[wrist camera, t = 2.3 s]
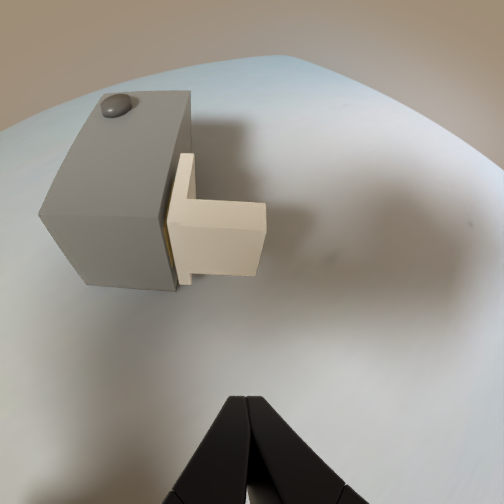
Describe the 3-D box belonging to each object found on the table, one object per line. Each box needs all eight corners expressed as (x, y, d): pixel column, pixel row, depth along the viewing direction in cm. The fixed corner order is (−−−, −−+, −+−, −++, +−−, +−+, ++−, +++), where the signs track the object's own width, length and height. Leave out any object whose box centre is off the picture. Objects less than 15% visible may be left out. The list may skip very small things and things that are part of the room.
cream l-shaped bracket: (249, 298, 21) (266, 230, 14) (178, 295, 20) (162, 225, 14) (249, 227, 24) (263, 147, 17) (187, 223, 23) (180, 142, 17)
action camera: (176, 291, 22) (156, 208, 14) (86, 284, 21) (33, 206, 13) (195, 157, 29) (194, 72, 21) (125, 156, 28) (109, 76, 20)
